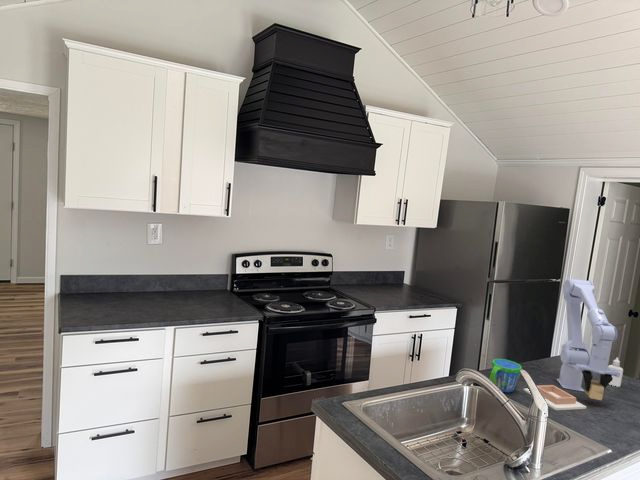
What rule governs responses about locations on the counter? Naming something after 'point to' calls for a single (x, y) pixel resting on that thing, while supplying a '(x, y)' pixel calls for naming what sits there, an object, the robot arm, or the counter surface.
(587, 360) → the robot arm
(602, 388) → the oak key block
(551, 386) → the tray
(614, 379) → the eye dropper bottle
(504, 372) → the snack cup
